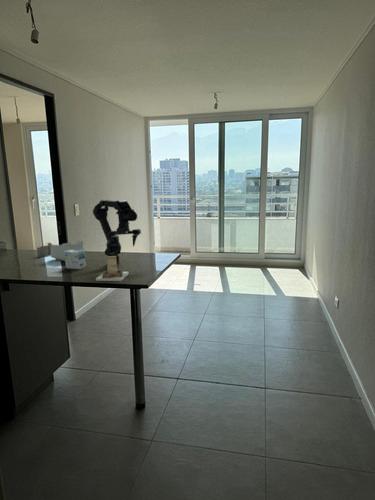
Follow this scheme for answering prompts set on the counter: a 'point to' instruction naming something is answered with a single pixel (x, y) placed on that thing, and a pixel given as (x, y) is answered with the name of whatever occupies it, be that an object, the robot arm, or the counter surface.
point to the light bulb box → (75, 259)
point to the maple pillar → (112, 265)
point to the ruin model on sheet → (44, 250)
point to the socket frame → (105, 274)
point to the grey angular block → (65, 249)
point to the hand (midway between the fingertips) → (126, 246)
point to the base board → (112, 278)
